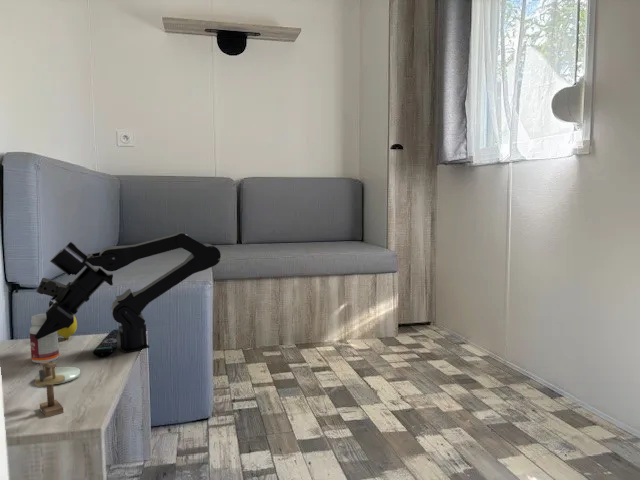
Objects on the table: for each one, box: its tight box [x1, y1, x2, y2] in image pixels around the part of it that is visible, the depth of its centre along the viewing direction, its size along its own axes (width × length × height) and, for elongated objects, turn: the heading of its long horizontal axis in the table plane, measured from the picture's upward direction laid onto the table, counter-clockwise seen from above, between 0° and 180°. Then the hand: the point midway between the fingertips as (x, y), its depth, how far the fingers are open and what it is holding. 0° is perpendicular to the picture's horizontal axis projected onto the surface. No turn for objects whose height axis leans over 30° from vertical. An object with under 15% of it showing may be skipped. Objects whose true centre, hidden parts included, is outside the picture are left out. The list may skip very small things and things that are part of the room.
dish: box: [35, 366, 81, 385], centre depth 117 cm, size 9×9×1 cm
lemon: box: [57, 315, 78, 340], centre depth 147 cm, size 6×6×8 cm
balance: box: [34, 361, 65, 418], centre depth 101 cm, size 11×4×10 cm, turn 41°
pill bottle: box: [29, 312, 60, 364], centre depth 130 cm, size 6×6×11 cm
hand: (37, 334), depth 129 cm, fingers closed on pill bottle, 6 cm apart
